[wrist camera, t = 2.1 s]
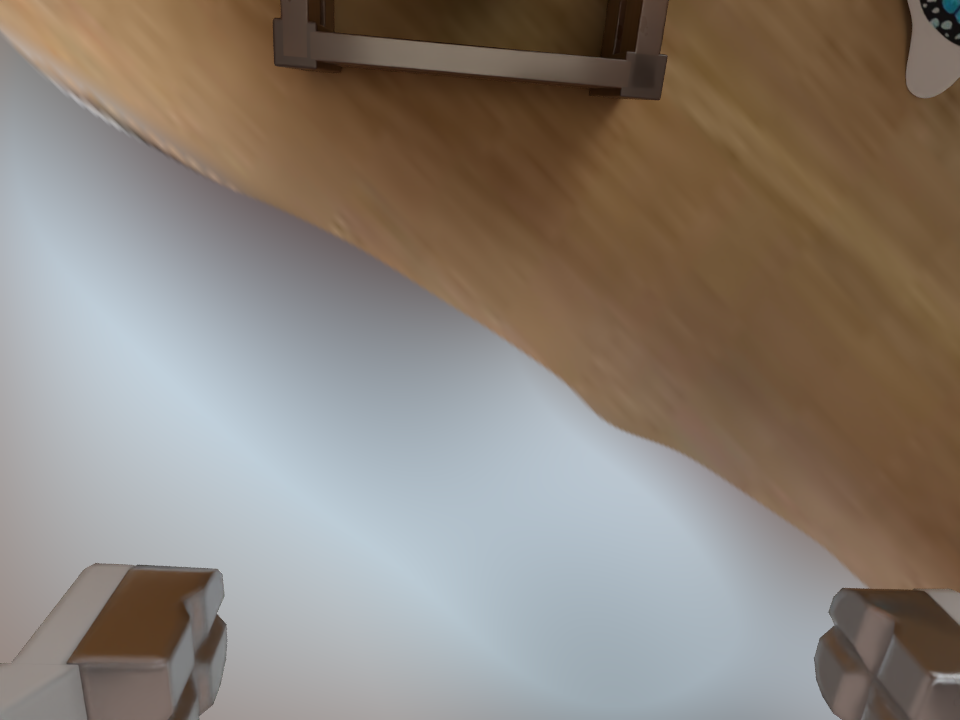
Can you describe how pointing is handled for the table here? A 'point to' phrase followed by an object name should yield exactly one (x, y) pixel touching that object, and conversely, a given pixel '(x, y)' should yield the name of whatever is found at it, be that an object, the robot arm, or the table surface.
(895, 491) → the table surface
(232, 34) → the table surface
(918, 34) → the decorative butterfly
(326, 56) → the crate
